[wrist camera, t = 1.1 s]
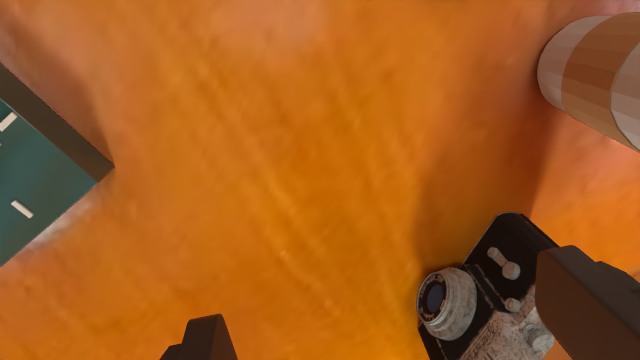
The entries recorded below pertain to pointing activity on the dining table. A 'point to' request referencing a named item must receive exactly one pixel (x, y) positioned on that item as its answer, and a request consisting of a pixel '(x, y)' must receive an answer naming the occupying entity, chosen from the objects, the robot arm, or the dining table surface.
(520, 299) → the camera
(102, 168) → the green switch panel
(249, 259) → the dining table surface
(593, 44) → the coffee cup
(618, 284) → the robot arm
